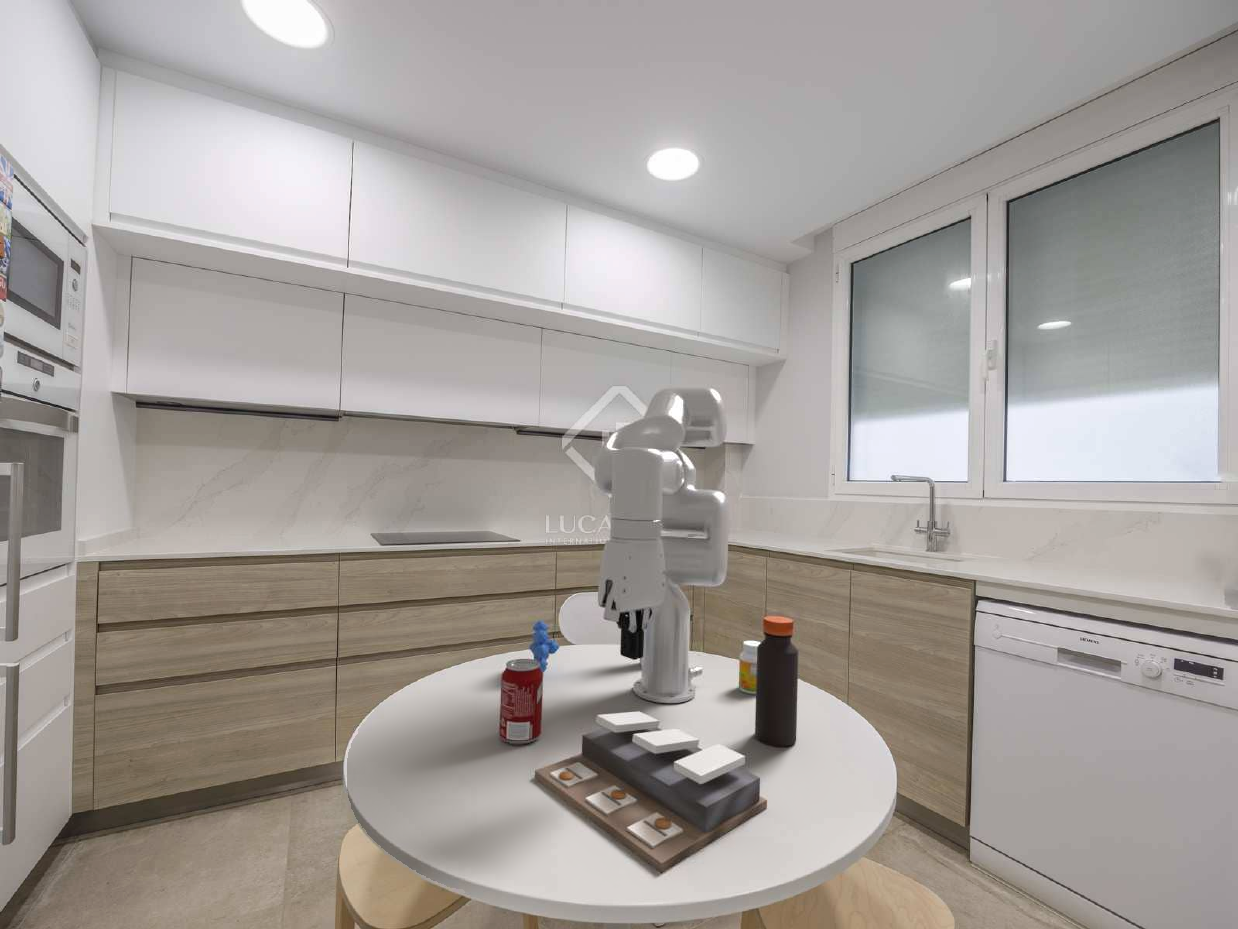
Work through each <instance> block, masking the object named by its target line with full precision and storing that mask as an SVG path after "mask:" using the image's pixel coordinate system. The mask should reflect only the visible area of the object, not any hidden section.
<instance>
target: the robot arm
mask: <svg viewBox="0 0 1238 929" xmlns="http://www.w3.org/2000/svg"><path fill="white" fill-rule="evenodd" d="M727 423H728V422H727V415H726V411H725V404H724V402H723V399H722V397H721V395H720V394H719V392H717V390H715V389H713V388H711V387H667V388H664V389H661V390H659V391H657V392H656V393H655V394H654V395H653V397H652V398H651V400H650V402H649V405H648V407H647V408H646V411H645V413H644V415H643V417H642V418H639V419H638V420H635V421H634V422H631V423H629V424H626V425H624V426H623V427H620V428H618V429H617V430H615V431H614V432H611V434H609V435H608V437H606V439H605V441H604V442H603V445H602V446H601V448H600V450H599V452H598V454H597V457H596V460H595V463H594V470H593V472H594V473H593V474H594V481H595V484H596V486H597V488H598V489H599V490H600V491H601V492H603V493H605V494H607V495H611V501H610V502H611V505H610V526H609V528H610V532H609V535H610V536H609V539H608V540H605V544H604V548H603V551H602V555H601V561H600V567H599V576H598V578H599V579H598V587H597V588H598V591H597V604H598V606H599V607H601V608H603V609H604V611H603V619H604V620H606V621H609V622H613V623H616V624H617V628H618V629H619V630H620V650H619V652H620V656H622V657H625V658H627V659H631V660H633V661H636V660H638V659H640V658H642V666H641V676H640V677H641V678H639V679H637V680H636V681H635V682H634V683H633V686H632V688H633V692H634V694H635V695H636V696H637V697H639V698H641V699H644V700H646V701H650V702H654V703H660V704H679V703H684V702H687V701H690V700H691V699H694V697H695V696H696V687H695V686H694V684H693V683H692V681H691V680H693V679H694V678H696V677H700V676H702V674H703V669H702V667H701V666H699V665H697V666H694V667H690V666H689V662H690V660H689V659H690V630H691V629H690V627H691V625H690V624H691V606H690V603H689V602H690V601H689V600H688V598H687V596H686V595H685V593H684V592H683V590H682V589H681V588H680V586H681V585H682V586H684V585H688V586H701V587H717V586H720V585H722V584H723V583H724V581H725V580H726V577H727V572H728V559H729V558H728V557H729V555H728V554H729V532H730V529H729V527H730V508H729V501H728V498H727V497H726V495H725V494H724V493H723V492H721V491H719V490H714V489H702V488H701V489H700V488H698V489H697V488H696V479H697V477H696V476H697V469H696V467H695V466H694V464H693V463H692V461H691V460H690V459H689V457H688V456H687V455H686V454H685V453H684V452H683V451H682V450H680V448H681V447H691V448H694V447H697V448H699V447H701V448H702V447H703V448H715V447H719V446H721V445H722V444H723V443H724V442H725V440H726V437H727V432H728V424H727ZM662 532H666V533H671V534H673V533H674V534H685V535H686V534H687V535H700V536H701V535H702V536H704V537H705V538H703V537H702V538H700V537H687V536H676V535H675V536H672V535H662ZM679 585H680V586H679Z"/></svg>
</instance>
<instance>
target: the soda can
mask: <svg viewBox="0 0 1238 929" xmlns="http://www.w3.org/2000/svg"><path fill="white" fill-rule="evenodd" d="M533 659H534V658H533ZM533 659H531V658H516V659H511V660H508V661H507V662H506V663H505V669H504V671H503V672H502V674H501V678H500V679H501V680H500V681H501V684H500V707H499V708H500V709H499V726H498V727H499V728H498V729H499V732H498V735H499V738H500V739H502V741H504V742H506V743H508V744H511V745H516V746H520V745H527V744H530V743H532V742H534V741H535V740H537V739H539V737H540V736H541V734H542V718H543V717H542V716H543V715H542V713H543V691H544V690H543V689H544V673H543V672H542V671H541V669H540V667H539V666H540V663H539V662H538V661H536V660H533Z"/></svg>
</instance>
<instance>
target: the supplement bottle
mask: <svg viewBox="0 0 1238 929" xmlns="http://www.w3.org/2000/svg"><path fill="white" fill-rule="evenodd" d="M760 643H761V642H760V641H756V640H745V641H743V643H742V644H743V645H742V646H743V647H742V649H743V651H742V652H741V653H739V671H738V688H739V690H740V691H741V692H743V693H746V694H749V695H756V675H757V647H758V645H759V644H760Z"/></svg>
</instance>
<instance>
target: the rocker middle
mask: <svg viewBox="0 0 1238 929" xmlns="http://www.w3.org/2000/svg"><path fill="white" fill-rule="evenodd" d="M661 730H662V731H654V732H645V733H637V734H633V739H632V742H634V743H636V744H638V745H640V746H641V747H643V748H645V749H647V750H649V751H651V752H653V753H655V754H657V753H663V752H670V751H676V750H682V749H688V748H695V747H698V748H699V743H700V739H699V738H696V737H694V736H692V735H691V734H688V733H686V732H684V731H682V730H679V729H677V728H672V729H665V730H663V729H661Z"/></svg>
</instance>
